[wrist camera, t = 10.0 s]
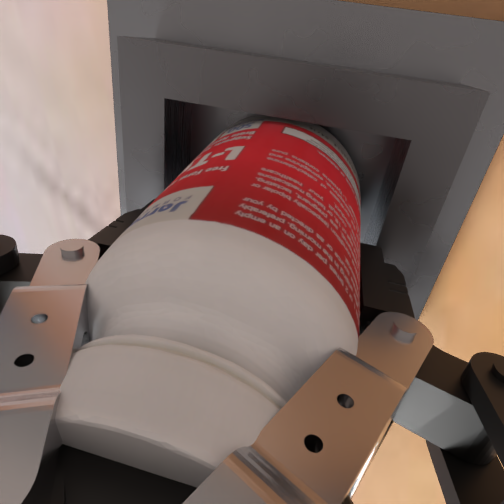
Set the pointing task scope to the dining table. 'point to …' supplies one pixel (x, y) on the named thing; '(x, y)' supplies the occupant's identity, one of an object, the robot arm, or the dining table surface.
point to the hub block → (319, 103)
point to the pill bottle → (218, 302)
